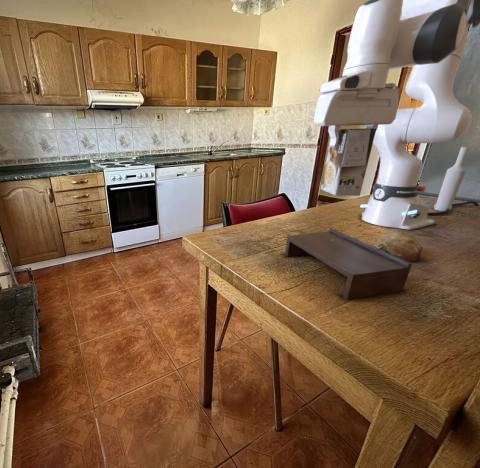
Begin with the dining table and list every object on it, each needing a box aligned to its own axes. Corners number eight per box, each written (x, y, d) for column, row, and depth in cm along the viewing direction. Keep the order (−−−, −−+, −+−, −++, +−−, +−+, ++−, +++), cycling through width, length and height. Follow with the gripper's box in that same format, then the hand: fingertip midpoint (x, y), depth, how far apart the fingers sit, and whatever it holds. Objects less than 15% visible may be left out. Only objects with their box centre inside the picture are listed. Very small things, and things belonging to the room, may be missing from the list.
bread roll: (367, 260, 77) (365, 240, 73) (389, 241, 78) (389, 220, 75) (406, 275, 68) (407, 253, 64) (431, 253, 70) (433, 231, 66)
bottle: (439, 211, 106) (463, 147, 97) (430, 208, 111) (451, 147, 101) (454, 211, 105) (479, 147, 96) (443, 208, 110) (466, 146, 101)
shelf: (327, 249, 76) (332, 228, 74) (402, 290, 56) (412, 263, 54) (284, 255, 74) (287, 233, 72) (347, 299, 54) (354, 271, 52)
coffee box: (361, 196, 65) (378, 128, 59) (334, 196, 66) (349, 128, 60) (342, 189, 74) (355, 128, 68) (318, 189, 74) (330, 129, 68)
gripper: (387, 85, 65) (373, 143, 70) (315, 85, 62) (305, 146, 67) (413, 80, 59) (396, 144, 64) (335, 80, 56) (323, 146, 61)
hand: (349, 145), depth 65 cm, fingers closed on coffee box, 7 cm apart
